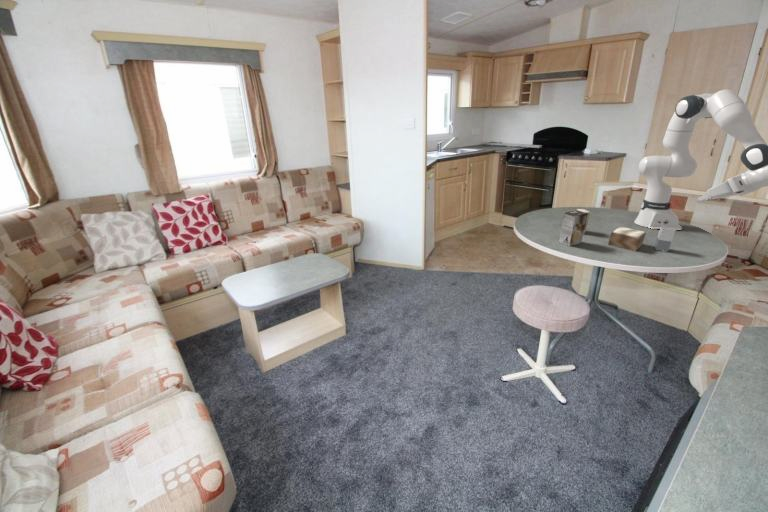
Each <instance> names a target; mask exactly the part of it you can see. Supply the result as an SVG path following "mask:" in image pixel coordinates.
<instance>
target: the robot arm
mask: <svg viewBox="0 0 768 512" xmlns="http://www.w3.org/2000/svg"><path fill="white" fill-rule="evenodd" d="M710 118H712V119H713V121H714V123H715V124H716V125H717V127H719V128H720V129H721V130H723V131H724V132H725V133H726V134H728V135H730V136H731V137H733V138H735V139H736V140H737V141H738V142H739V143H740V144H741V145H742V146H743V148H744V150H743V151H742V152H741V154H740V162H741V163H742V165H743V166H745V167H746V168H747V170H746V171H744V172H741V173H740V174H737V175H735V176H732V177H730V178H728V179H726V181H724V182H721V183H719V184H717V185H715V186H713V187H710V188H709V189H707V190H706V193H704V194H703V195H701V196H698V197H697V200H698V202H699V201H700V202H702V201H707V202H709V201H713V200H716V199H727V198H730V197H732V196H736V195H740V196H742V197H743V196H745V195H748V194H750V193H753V192H756V191H758V190H760V189H761V188H765V187H768V144H767V143H766V141H765V140H764V139H763V138H762V136H761V134H760V133H759V131H758V129H757V127H756V125H755V122H754V120H753V117H752V115H751V111H750V110H749V107H748V106H747V104H746V103H745V101H744V99H742V98H741V97H740V96H739V95H738V94H737V93H736V92H735V91H733V90H732V89H729V88H728V89H725V88H724V89H722V90H719V91H717V92H715V93H703V94H701V93H700V94H690V95H687V96H684V97H682V98H680V99H679V100H678V102H677V104H676V105H675V108H674V112H673V115H672V117H671V118H670V120H669V122H668V124H667V127H666V129H665V133H664V136H663V138H662V139H663V140H662V145H663V147H664V149H665V148H666V149H667V150H669V151H671V155H649V156H644V157H643V158H641V159H640V161H639V164H638V172H639V173H640V174H641V175H642V176H644V178H645V180H646V183H647V187H646V192H645V196H644V198H643V199H642V202H641V205H640V210H639V212H638V215H637V216H636V219H635V220H634V224H635V225H638V226H641V227H643V228H644V227H645V228H647V227H648V229H650V228H651V230H657V229H660V227H661V226H665V227H673V228H674V229H675V231H677V230H681V229H682V230H683V227H682V226H681V225H680V224H679V222H680V221H679V216H678V215H677V214H676V213H675V212H673V211H672V210H671V209H673V208H675V205H674V204H673V203H671V202H669V200H670V197H671V194H672V190H673V189H672V186H671V185H670V184H668V183H666V182H665V181H663V178H664V177H668V178H686V177H687V178H688V177H690V176H692V175H693V174H694V173H695V172H696V170H697V166H698V163H697V161H696V159H695V158H694V157H693V156H691V154H690V151H689V145H690V141H691V139H692V135H693V132H694V129H695V126H696V124H697V122H698V121H699V120H700V119H710ZM682 230H681V231H682Z"/></svg>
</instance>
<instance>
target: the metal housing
mask: <svg viewBox="0 0 768 512" xmlns="http://www.w3.org/2000/svg"><path fill="white" fill-rule="evenodd" d="M675 233H676V230H675V229H674V228H673V227H665V226H661V227H660V230H658V234H657V236H656V240H655V243H654V245H653V248H654V247H655V248H654V250H655V249H656V250H664V251H668V252H669V250H670V247H671V244H672V241H673V239H674V237H675ZM656 250H655V251H656Z"/></svg>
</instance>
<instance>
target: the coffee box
mask: <svg viewBox="0 0 768 512" xmlns="http://www.w3.org/2000/svg"><path fill="white" fill-rule="evenodd" d="M587 215H588V213H585V212H581V211H578V210H577V209H575V210H572V211H567V212H564V216H563V221H562V225H561V229H560V230H561V231H560V235H559V240H558V243H559V242H560V243H559V244H562V243H563V245H565V246H567V245H568V246H567V247H572V246H576V245H579V244H582V241H583V236H584V233H583V232H584V228H585V223H586V219H587Z"/></svg>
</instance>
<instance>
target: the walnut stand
mask: <svg viewBox="0 0 768 512" xmlns="http://www.w3.org/2000/svg"><path fill="white" fill-rule="evenodd" d="M646 235H647V232H646V231H643V230H638V229H633V228H629V227H624V226H618V227H617V228H615V229H614V230H613V231H611V233H610V237H609V240H608V245H609V246H613V247H618V248H619V249H625V250H629V251H633V252H637V250H639V249H640V247H642V246H643V244H644V239H645V237H646Z"/></svg>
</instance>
